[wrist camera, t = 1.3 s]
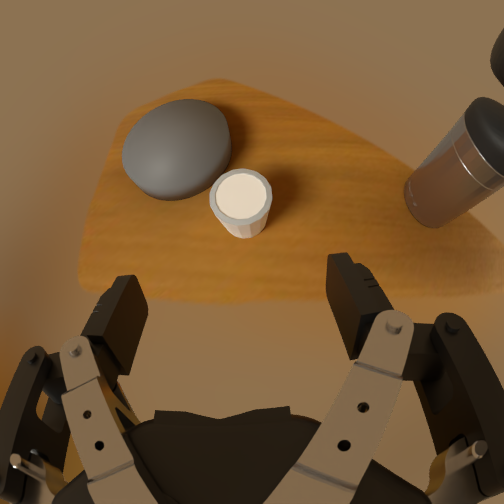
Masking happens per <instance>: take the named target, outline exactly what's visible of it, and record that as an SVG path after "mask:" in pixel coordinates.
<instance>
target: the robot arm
mask: <svg viewBox="0 0 504 504" xmlns="http://www.w3.org/2000/svg"><path fill="white" fill-rule="evenodd" d="M490 62H491V69H492V71H493V73H494V75H495V76H496V78H497V79H498V80H499V81H500V83H501V84H502V85H503V86H504V29H503V30H502V32H501V33H500V35H499V37H498V38H497V40H496V42H495V44H494V47H493V49H492V53H491V59H490ZM503 186H504V106H503V105H502V104H500V103H498V102H497V101H495V100H492V99H490V98H485V97H480V98H477V99H475V100H474V101H473V102H472V103H471V105H470V106H469V107H468V108H467V110H466V111H465V112H464V114H463V115H462V116H461V117H460V119H459V120H458V121H457V123H456V124H455V125H454V126H453V128H452V129H451V130H450V131H449V132H448V134H447V135H446V136H445V137H444V138H443V140H442V141H441V142H440V143H439V144H438V146H437V147H436V148H435V149H434V150H433V151H432V152H431V154H430V155H429V156H428V157H427V158H426V159H425V160H424V162H423V163H422V164H421V165H420V166H419V167H418V168H417V169H416V170H415V172H414V173H413V174H412V175H411V176H410V177H409V178H408V180H407V181H406V184H405V187H404V195H405V200H406V204H407V206H408V208H409V210H410V212H411V213H412V215H413V216H414V217H415V218H416V219H417V220H418V221H419V222H420V223H422V224H423V225H425V226H427V227H431V228H439V227H442V226H443V225H445V224H447V223H448V222H450V221H452V220H453V219H455V218H457V217H458V216H460V215H461V214H463V213H465V212H466V211H468V210H469V209H471V208H472V207H474V206H475V205H477V204H478V203H480V202H481V201H483V200H485V199H486V198H487V197H489V196H490V195H492V194H493V193H495V192H496V191H498V190H499V189H500V188H502V187H503ZM326 294H327V299H328V301H329V304H330V306H331V309H332V312H333V315H334V317H335V320H336V323H337V325H338V328H339V331H340V334H341V336H342V339H343V342H344V344H345V347H346V350H347V353H348V356H349V359H350V360H354V359H358V360H357V362H355V363H354V364H353V366H352V368H351V370H350V372H349V374H348V376H347V378H346V380H345V382H344V384H343V386H342V388H341V390H340V392H339V393H338V395H337V397H336V399H335V401H334V403H333V405H332V406H331V408H330V410H329V412H328V413H327V415H326V417H325V419H324V420H323V422H322V423H321V422H319V421H317V420H315V419H312V418H309V417H305V416H300V415H293V414H290V407H289V406H285V407H277V408H267V409H256V410H252V411H249V412H245V413H242V414H239V415H235V416H231V417H227V418H223V419H215V418H210V417H206V416H201V415H197V414H193V413H189V412H181V411H159V410H155V415H154V419H152V420H148V421H144V422H142V423H141V422H140V421H139V420H138V418H137V417H136V415H135V413H134V411H133V409H132V408H131V406H130V404H129V402H128V400H127V398H126V396H125V394H124V392H123V390H122V387H121V385H120V383H119V382H118V381H117V379H118V375H129V374H130V371H131V367H132V364H133V360H134V357H135V354H136V350H137V347H138V344H139V341H140V338H141V335H142V331H143V328H144V326H145V322H146V319H147V316H148V305H147V302H146V299H145V297H144V294H143V292H142V289H141V287H140V284H139V282H138V279H137V277H136V276H135V275H125V276H118V277H117V278H116V280H115V281H114V283H113V285H112V287H111V288H109V289H108V290H107V291H106V292H105V293H104V294H103V295H102V296H101V297H100V299H99V301H98V303H97V306H95V308H94V310H93V313H92V314H91V316H90V318H89V319H88V321H87V324H86V325H85V327H84V330H83V331H82V333H81V335H80V336H76V337H73V338H71V339H69V340H68V341H66V342H65V343H64V345H63V346H62V348H61V350H60V352H57V353H53V354H49V355H48V354H47V353H46V351H45V350H44V349H43V348H42V347H41V346H35V347H32V348H30V349H29V350H28V351H27V352H26V353H25V354H24V355H23V357H22V359H21V362H20V363H19V366H18V368H17V370H16V372H15V374H14V377H13V379H12V381H11V384H10V386H9V388H8V391H7V393H6V396H5V399H4V402H3V404H2V407H1V410H0V498H1V499H3V500H6V501H7V502H9V503H10V504H477V503H478V502H481V501H483V500H486V499H489V498H491V497H493V496H496V495H498V494H500V493H503V492H504V390H503V388H502V386H501V383H500V381H499V379H498V377H497V375H496V374H495V372H494V370H493V368H492V366H491V364H490V362H489V360H488V358H487V357H486V355H485V353H484V351H483V349H482V348H481V346H480V345H479V343H478V341H477V339H476V338H475V336H474V334H473V333H472V331H471V329H470V328H469V326H468V325H467V323H466V322H465V320H464V319H463V318H461V317H460V316H458V315H456V314H454V313H442V314H440V315H439V316H438V317H437V318H436V320H435V323H434V324H421V323H413V322H412V320H411V319H410V317H409V316H408V315H406V314H405V313H403V312H400V311H397V310H394V309H393V307H392V305H391V303H390V302H389V300H388V298H387V297H386V295H385V293H384V292H383V290H382V289H381V287H380V286H379V284H378V282H377V281H376V279H375V278H374V276H373V274H372V273H371V271H370V270H369V269H368V268H366V267H365V266H364V265H362V264H361V263H356V264H354V263H353V261H352V259H351V258H350V256H349V255H348V253H346V252H345V253H337V254H329V255H328V260H327V276H326ZM403 380H405V381H407V380H408V381H413V382H414V385H415V388H416V390H417V393H418V396H419V398H420V402H421V404H422V408H423V411H424V413H425V417H426V420H427V423H428V426H429V429H430V433H431V436H432V439H433V443H434V446H435V450H436V454H437V456H436V457H435V459H434V460H433V462H432V463H431V466H430V470H429V485H428V487H427V490H426V491H425V492H423V491H422V490H420V489H418V488H417V487H415V486H414V485H412V484H410V483H409V482H407V481H405V480H404V479H402V478H401V477H399V476H397V475H396V474H394V473H393V472H391V471H390V470H388V469H387V468H385V467H384V466H382V465H381V464H379V463H378V462H376V461H375V460H373V459H372V457H373V455H374V453H375V451H376V449H377V447H378V444H379V442H380V440H381V438H382V435H383V433H384V431H385V428H386V426H387V423H388V421H389V418H390V416H391V413H392V410H393V407H394V405H395V402H396V399H397V397H398V394H399V391H400V388H401V384H402V381H403ZM42 391H44V392H45V394H47V396H48V397H49V398H48V402H47V404H46V407H45V411H44V414H43V418H42V421H41V420H40V419H39V418H38V416H37V414H36V406H37V403H38V400H39V397H40V394H41V392H42ZM70 433H71V434H72V437H73V440H74V443H75V446H76V448H77V451H78V454H79V456H80V459H81V462H82V464H83V466H84V470H83V471H82V472H81V473H80V474H79V475H78V476H76V477H75V478H74V479H73V480H72V481H71V482H69V483H68V482H67V481H65V480H64V476H63V469H64V462H65V458H66V452H67V447H68V442H69V438H70Z"/></svg>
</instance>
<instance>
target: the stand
mask: <svg viewBox="0 0 504 504" xmlns="http://www.w3.org/2000/svg"><path fill="white" fill-rule="evenodd" d="M231 152H232V143H231V138H230V134H229V129H228V124H227V121H226V118H225V116H224V115H223V113H222V112H221V111H220V110H219V109H218V108H216V107H215V106H214V105H212V104H210V103H207V102H205V101H201V100H194V99H184V100H177V101H172V102H169V103H166V104H163V105H161V106H159V107H157V108H155V109H153V110H152V111H150V112H149V113H147V114H146V115H145V116H143V117H142V118H141V119H140V120H139V121H138V122H137V123H136V124H135V125H134V127H133V128H132V129H131V131H130V132H129V134H128V136H127V138H126V140H125V143H124V146H123V151H122V162H123V166H124V169H125V171H126V173H127V174H128V176H129V177H130V178H131V179H132V180H133V181H134V182H135V183H136V185H137V186H138V187H139V188H140V189H141V190H142V191H143V192H144V193H146V194H147V195H149V196H151V197H153V198H156V199H159V200H166V201H175V200H182V199H186V198H189V197H192V196H195V195H197V194H199V193H201V192H203V191H204V190H206V189H207V188H209V187H210V186H211V185H212V184H214V183H215V182H216V181H217V180H218V178H219V177H220V176H221V175H222V174H223V173H224V171H225V169H226V168H227V166H228V163H229V161H230V157H231Z"/></svg>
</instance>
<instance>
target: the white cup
mask: <svg viewBox="0 0 504 504" xmlns="http://www.w3.org/2000/svg"><path fill="white" fill-rule="evenodd" d="M271 202H272V190H271V186H270V185H269V183H268V181H267V180H266V178H265V177H263V176H262V175H261V174H259V173H258V172H256V171H253V170H248V169H236V170H231V171H229V172H227V173H225V174H223V175H221V176H220V177H219V178H218V180H217V181H216V182H215V183H214V184H213V187H212V189H211V192H210V206H211V208H212V210H213V212H214V214H215V215H216V217H217V218H218V219H219V220H220V221H221V223H222V224H223V225H224V226H225V228H226V229H227V230H228V231H229V232H230V233H231V234H233V235H234V236H236V237H240V238H252V237H253V236H255V235H257V234H259V233H260V232H261V231H262V230H263V228H264V227H265V224H266V221H267V217H268V213H269V210H270V206H271Z"/></svg>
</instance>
